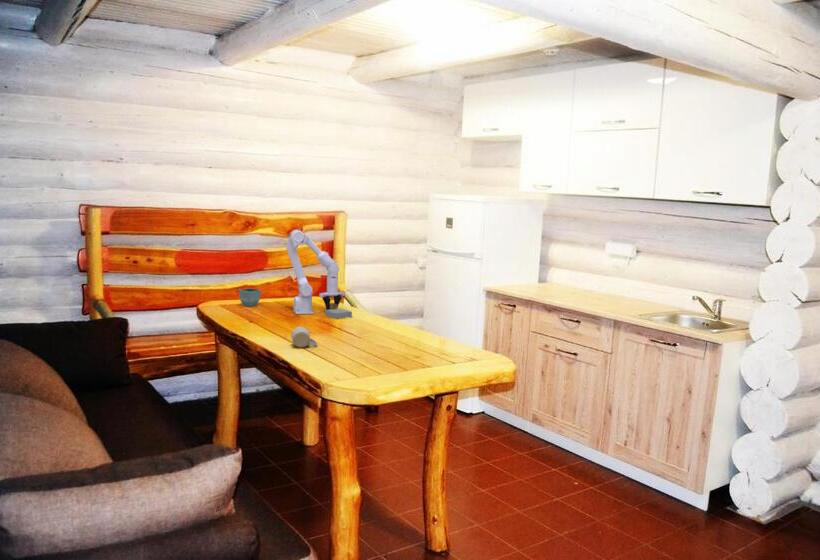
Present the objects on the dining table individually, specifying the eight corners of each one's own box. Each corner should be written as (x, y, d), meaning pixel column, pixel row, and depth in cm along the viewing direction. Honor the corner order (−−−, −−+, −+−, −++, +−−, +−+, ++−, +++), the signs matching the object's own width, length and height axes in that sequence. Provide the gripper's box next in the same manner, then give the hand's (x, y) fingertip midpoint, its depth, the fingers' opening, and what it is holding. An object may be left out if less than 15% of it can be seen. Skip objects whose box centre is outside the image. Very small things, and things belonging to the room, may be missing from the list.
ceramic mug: (292, 348, 283) (293, 330, 282) (291, 344, 291) (291, 326, 290) (318, 348, 286) (318, 330, 285) (315, 344, 294) (316, 326, 293)
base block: (335, 319, 349) (335, 313, 348) (325, 315, 356) (325, 310, 356) (351, 317, 355) (351, 311, 355) (341, 314, 363) (341, 308, 362)
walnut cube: (330, 313, 363) (330, 305, 363) (325, 312, 367) (326, 303, 366) (337, 312, 366) (337, 304, 366) (333, 311, 370) (333, 303, 369)
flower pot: (261, 305, 378) (261, 289, 376) (249, 307, 370) (250, 291, 369) (250, 303, 382) (250, 288, 381) (238, 305, 375) (238, 289, 374)
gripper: (324, 286, 357) (324, 312, 359) (347, 284, 366) (347, 309, 368) (317, 284, 362) (317, 309, 364) (340, 283, 371) (340, 307, 373)
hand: (331, 309), depth 366 cm, fingers closed on walnut cube, 4 cm apart
